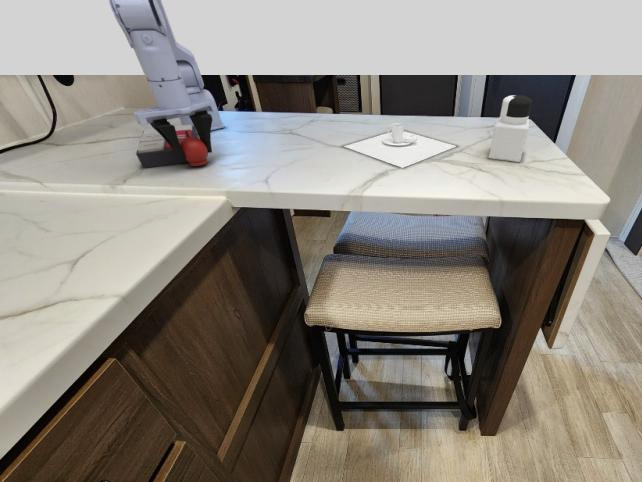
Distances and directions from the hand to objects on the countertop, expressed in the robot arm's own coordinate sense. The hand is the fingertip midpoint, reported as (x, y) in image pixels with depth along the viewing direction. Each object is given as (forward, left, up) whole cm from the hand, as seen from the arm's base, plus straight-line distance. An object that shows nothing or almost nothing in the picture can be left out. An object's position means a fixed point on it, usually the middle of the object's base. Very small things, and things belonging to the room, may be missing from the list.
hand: (195, 155), depth 70 cm
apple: (0, 0, -2) cm, 2 cm away
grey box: (0, -12, -2) cm, 12 cm away
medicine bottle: (-49, +48, -2) cm, 69 cm away
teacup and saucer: (-38, +25, -2) cm, 46 cm away
